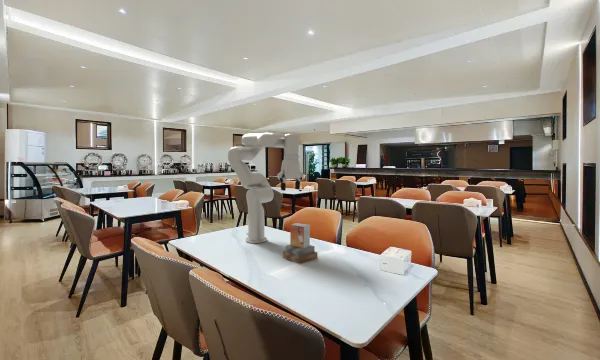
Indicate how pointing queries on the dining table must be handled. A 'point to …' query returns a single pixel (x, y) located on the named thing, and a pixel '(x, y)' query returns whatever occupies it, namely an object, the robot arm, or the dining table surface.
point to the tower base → (299, 259)
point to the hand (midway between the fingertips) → (290, 189)
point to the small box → (300, 235)
